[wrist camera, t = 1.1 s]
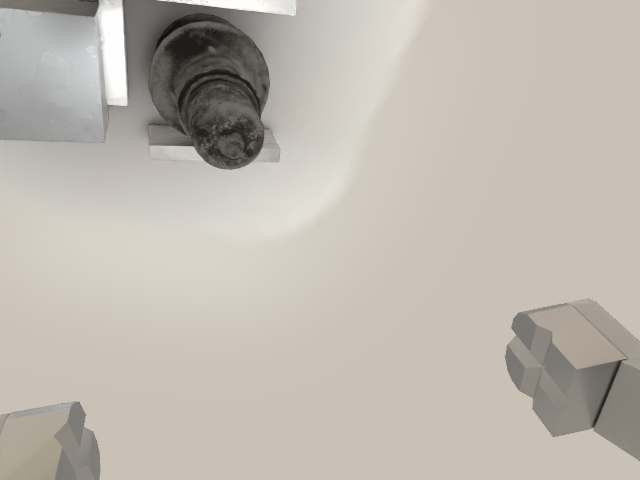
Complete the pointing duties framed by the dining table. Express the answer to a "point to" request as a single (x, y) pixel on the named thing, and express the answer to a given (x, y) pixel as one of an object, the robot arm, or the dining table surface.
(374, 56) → the dining table surface
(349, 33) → the dining table surface
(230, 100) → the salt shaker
